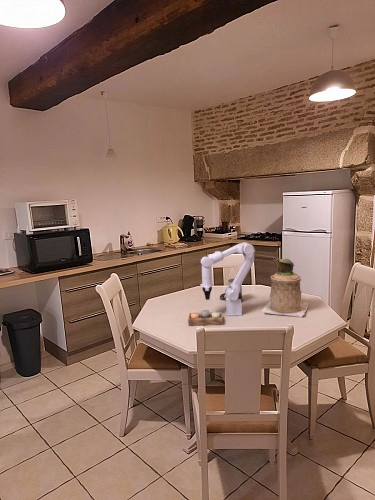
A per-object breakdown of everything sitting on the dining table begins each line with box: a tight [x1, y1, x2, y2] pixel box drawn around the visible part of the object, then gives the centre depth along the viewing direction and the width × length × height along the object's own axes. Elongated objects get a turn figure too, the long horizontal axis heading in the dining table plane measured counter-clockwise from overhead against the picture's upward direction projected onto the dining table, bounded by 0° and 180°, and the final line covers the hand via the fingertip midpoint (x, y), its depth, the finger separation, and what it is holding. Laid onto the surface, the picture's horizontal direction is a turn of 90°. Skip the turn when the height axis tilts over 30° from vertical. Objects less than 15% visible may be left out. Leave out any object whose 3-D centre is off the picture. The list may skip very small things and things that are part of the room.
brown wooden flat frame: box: [187, 311, 224, 327], centre depth 201 cm, size 19×12×3 cm, turn 86°
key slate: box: [200, 309, 210, 318], centre depth 201 cm, size 5×5×4 cm
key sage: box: [212, 311, 220, 318], centre depth 200 cm, size 5×5×4 cm
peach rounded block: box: [190, 312, 200, 318], centre depth 201 cm, size 5×5×4 cm
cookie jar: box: [261, 258, 309, 318], centre depth 211 cm, size 25×25×32 cm
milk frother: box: [219, 278, 244, 302], centre depth 236 cm, size 14×16×15 cm
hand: (207, 299), depth 208 cm, fingers closed
